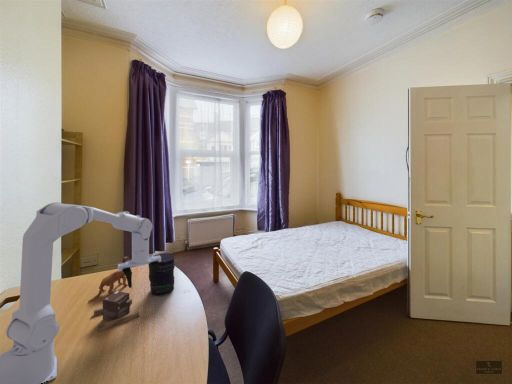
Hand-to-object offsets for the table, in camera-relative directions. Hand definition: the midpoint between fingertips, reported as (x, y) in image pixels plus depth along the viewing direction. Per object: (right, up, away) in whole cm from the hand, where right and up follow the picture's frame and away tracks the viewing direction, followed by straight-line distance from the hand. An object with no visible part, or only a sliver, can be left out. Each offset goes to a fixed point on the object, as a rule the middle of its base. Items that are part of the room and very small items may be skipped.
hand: (140, 283), depth 83 cm
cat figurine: (-18, -8, +10) cm, 22 cm away
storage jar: (+3, -9, +13) cm, 16 cm away
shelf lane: (-6, -10, -5) cm, 12 cm away
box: (-6, -10, -5) cm, 13 cm away
